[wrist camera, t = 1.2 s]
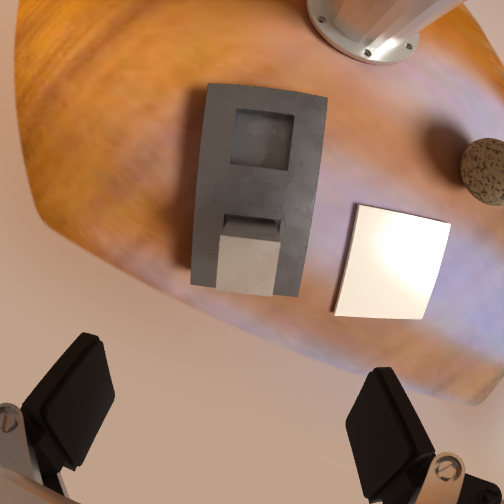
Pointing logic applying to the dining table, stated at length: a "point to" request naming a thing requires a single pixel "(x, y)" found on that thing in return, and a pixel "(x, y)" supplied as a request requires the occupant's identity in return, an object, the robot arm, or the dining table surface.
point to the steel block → (248, 256)
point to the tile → (390, 264)
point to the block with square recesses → (257, 173)
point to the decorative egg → (484, 170)
